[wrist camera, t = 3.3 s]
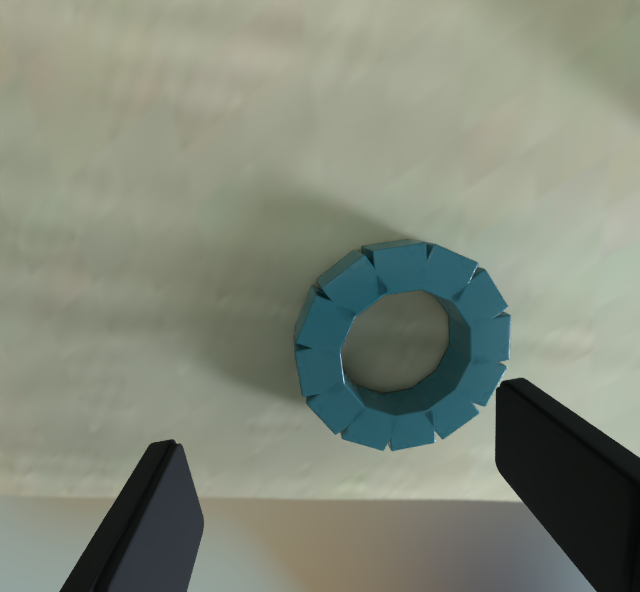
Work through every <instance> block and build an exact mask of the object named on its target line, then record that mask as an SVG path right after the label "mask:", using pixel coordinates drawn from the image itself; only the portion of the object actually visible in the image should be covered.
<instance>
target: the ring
mask: <svg viewBox="0 0 640 592" xmlns="http://www.w3.org/2000/svg"><path fill="white" fill-rule="evenodd" d="M362 253H363V254H362ZM362 253H360V252H358V251H356V250H353V251H352V252H351V253H349V254H348V255H347V256H346V257H344V258H343V259H342V260H340V261H339V262H338V263H337V264H335V265H334V266H333V267H331V268H330V269H329V270H328V271H326V272H325V273H324V274H323V275H321V276H320V277H319V278H318V279H317V281H318V283H319V285H320V287H321V289H320V288H317V287H315V286H311V288H310V291H309V293H308V296H307V298H306V301H305V303H304V306H303V308H302V310H301V313H300V315H299V318H298V320H297V323H296V325H295V335H294V348H295V356H296V362H297V368H298V374H299V380H300V386H301V392H302V396H303V397H305V396H306V404H307V405H308V406H309V407H310V408H311V409H312V410H313V411H314V413H315V414H316V415H317V416H318V417H319V418H320V419H321V420H322V421H323V422H324V423H325V424H326V425H327V427H328V428H329V429H330V430H331V431H332V432H333V433H334V434H335V435H336V434H338V433H339V432H341V436H342V439H344V440H347V441H351V442H354V443H358V444H361V445H365V446H368V447H372V448H375V449H379V450H382V451H384V449H385V447H386V445H387V443H388V445H389V447H390V449H391V451H395V450H400V449H405V448H411V447H416V446H421V445H426V444H431V443H435V431H436V432H437V434H438V435H439V436H440V437H441V439H444V438H446V437H447V436H449V435H450V434H451V433H453V432H454V431H456V430H457V429H458V428H460V427H461V426H463V425H464V424H465V423H467V422H468V421H470V420H471V419H472V418H474V417H475V416H477V415H478V414H479V413H480V412H479V410H478V409H477V408H476V406H475V405H474V404H473V403H475V404H478V405H481V406H486V405H487V403H488V401H489V399H490V397H491V396H492V394H493V392H494V390H495V389H496V387H497V385H498V383H499V381H500V380H501V378H502V376H503V374H504V373H505V371H506V369H507V367H506V366H505V365H504V364H502V363H501V362H499V361H505V360H509V359H510V326H511V316H510V315H509V314H507V313H505V312H503V311H504V310H506V309H507V308H508V305H507V304H506V302H505V300H504V299H503V297H502V296H501V294H500V292H499V291H498V289H497V287H496V286H495V284H494V283H493V281H492V279H491V278H490V276H489V274H488V273H487V271H486V270H485V269H483V268H479V267H477V266H478V263H477V262H475V261H473V260H471V259H469V258H466V257H464V256H462V255H459V254H457V253H455V252H453V251H450V250H448V249H446V248H444V247H441V246H439V245H437V244H433V243H428V242H422V241H415V240H409V239H406V240H399V241H392V242H386V243H379V244H372V245H366V246H362ZM420 289H421V290H423V291H426V292H428V293H431V294H433V295H435V296H436V298H437V299H438V301H439V302H440V303H441V305H442V306H443V308H444V309H445V311H446V312H447V314H448V315H449V331H450V345H449V347H448V349H447V351H446V353H445V355H444V357H443V359H442V361H441V363H440V365H439V367H438V369H437V370H436V371H435V372H434V373H432V374H431V375H430V376H428V377H427V378H426V379H424V380H423V381H422V382H420V383H419V384H417V385H416V386H415V387H413V388H412V389H408V390H402V391H397V392H391V393H386V394H381V393H378V392H375V391H372V390H369V389H366V388H363V387H359V386H356V385H355V384H354V382H353V381H352V380H351V379H350V378H349V376H348V375H347V374H346V373H345V372H344V371H343V367H342V359H341V351H340V350H341V348H342V345H343V343H344V341H345V339H346V336H347V334H348V332H349V330H350V327H351V325H352V323H353V321H354V318H355V317H356V316H358V315H359V314H360V313H361V312H363V311H364V310H365V309H367V308H368V307H369V306H371V305H372V304H373V303H375V302H376V301H377V300H378V299H380V298H381V297H382V296H384V295H389V294H395V293H401V292H408V291H414V290H420Z"/></svg>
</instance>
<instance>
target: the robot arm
mask: <svg viewBox="0 0 640 592" xmlns="http://www.w3.org/2000/svg"><path fill="white" fill-rule="evenodd" d="M495 462H496V466H497V468H498V470H499V472H500V474H501V475H502V476H503V478H504V479H505V480H506V481H507V483H508V484H509V485H510V486H511V487H512V489H513V490H514V491H515V492H516V494H517V495H518V496H519V497H520V498H521V500H522V501H523V502H524V503H525V505H526V506H527V507H528V508H529V509H530V511H531V512H532V513H533V514H534V516H535V517H536V518H537V519H538V520H539V522H540V523H541V524H542V525H543V526H544V528H545V529H546V530H547V531H548V533H549V534H550V535H551V536H552V538H553V539H554V540H555V541H556V542H557V544H558V545H559V546H560V547H561V548H562V550H563V551H564V552H565V553H566V555H567V556H568V557H569V558H570V560H571V561H572V562H573V563H574V564H575V566H576V567H577V568H578V569H579V571H580V572H581V573H582V574H583V575H584V577H585V578H586V579H587V580H588V582H589V583H590V584H591V585H592V586H593V587H594V589H595V590H596V591H597V592H640V458H639V457H638V456H636V455H635V454H633V453H632V452H631V451H629V450H628V449H626V448H625V447H623V446H622V445H620V444H619V443H618V442H616V441H615V440H613V439H612V438H610V437H609V436H607V435H606V434H604V433H603V432H602V431H600V430H599V429H597V428H596V427H594V426H593V425H591V424H590V423H589V422H587V421H586V420H584V419H583V418H581V417H580V416H578V415H577V414H576V413H574V412H573V411H571V410H570V409H568V408H567V407H565V406H564V405H563V404H561V403H560V402H558V401H557V400H555V399H554V398H552V397H551V396H549V395H548V394H547V393H545V392H544V391H542V390H541V389H539V388H538V387H536V386H535V385H534V384H532V383H531V382H529V381H528V380H526V379H524V378H517V379H511V380H505V381H502V382H501V384H500V387H498V388H497V389H496V437H495ZM203 528H204V518H203V514H202V511H201V507H200V504H199V500H198V497H197V493H196V490H195V487H194V483H193V480H192V476H191V473H190V469H189V466H188V463H187V459H186V456H185V452H184V449H183V446H182V445H181V444H180V443H179V444H176V442H175V440H173V439H171V440H165V441H160V442H154V443H151V444H150V445H149V446H148V448H147V450H146V451H145V453H144V455H143V456H142V458H141V459H140V461H139V463H138V464H137V466H136V468H135V469H134V471H133V473H132V474H131V476H130V478H129V479H128V481H127V482H126V484H125V486H124V487H123V489H122V491H121V492H120V494H119V496H118V497H117V499H116V501H115V502H114V504H113V505H112V507H111V509H110V510H109V511H108V513H107V515H106V516H105V518H104V519H103V521H102V523H101V524H100V526H99V528H98V529H97V531H96V533H95V534H94V536H93V537H92V539H91V541H90V542H89V544H88V546H87V548H86V549H85V551H84V552H83V554H82V556H81V557H80V559H79V560H78V562H77V564H76V566H75V567H74V569H73V570H72V572H71V573H70V575H69V577H68V578H67V580H66V582H65V583H64V585H63V587H62V588H61V590H60V592H187V589H188V585H189V581H190V578H191V574H192V570H193V566H194V563H195V559H196V556H197V552H198V548H199V545H200V541H201V537H202V533H203Z"/></svg>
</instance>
